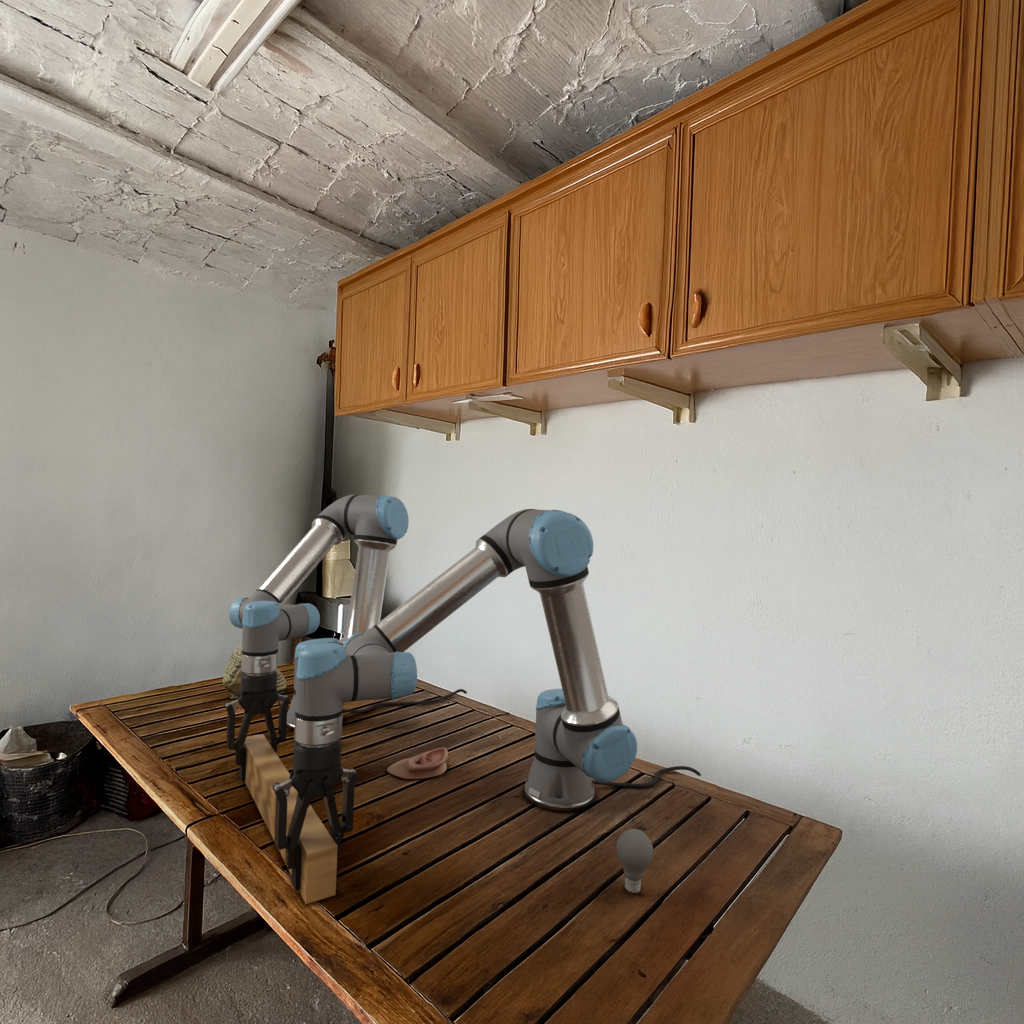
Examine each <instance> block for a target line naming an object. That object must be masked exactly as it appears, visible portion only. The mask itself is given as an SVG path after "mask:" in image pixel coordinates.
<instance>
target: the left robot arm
mask: <svg viewBox="0 0 1024 1024" xmlns="http://www.w3.org/2000/svg"><path fill="white" fill-rule="evenodd" d="M409 518H410V517H409V512H408V510H407V507H406V505H405V504H404V502H403V501H402V500H401V499H400V498H398V497H395V496H391V495H384V494H381V495H379V494H378V495H377V494H376V495H375V494H348V495H345V496H342V497H341V498H339V499H337V500H335V501H334V502H332V503H331V504H329V505H328V506H327V507H326V508H324V509H323V510H322V511H320V513H319V514H318V515H317V516H316V517H315V518H314V519H313V521H312V522H311V528H310V529H309V530H308V532H306V534H305V535H304V536H303V537H302V538H301V539H300V540H299V542H297V543H296V545H295V546H294V547H293V548H292V550H290V551H289V553H288V554H287V555H286V556H285V558H283V559H282V560H281V562H280V563H279V564H278V565H277V566H276V567H275V569H273V571H272V572H271V573H270V574H269V575H268V576H267V577H266V579H264V581H263V582H262V583H261V584H260V585H259V586H258V588H257V589H256V590H255V591H254V592H253V593H252V594H251V596H250V597H247V596H246V597H240V598H238V599H236V600H234V601H233V603H232V604H231V605H230V608H229V611H228V619H229V621H230V623H231V625H233V626H234V627H236V628H238V629H240V630H241V629H242V636H241V644H242V645H241V647H242V662H241V671H242V672H243V673H242V674H241V687H240V695H239V696H238V698H236V699H235V700H233V701H231V702H230V701H227V702H225V703H224V707H225V710H226V713H227V717H226V718H227V719H226V746H227V749H228V750H230V751H234V762H235V764H236V766H239V779H240V781H241V782H243V781H244V782H245V776H246V749H245V747H244V743H245V740H246V737H247V736H248V733H249V730H250V725H251V722H252V721H253V717H254V716H256V715H263V717H264V721H265V725H266V730H267V734H268V739H269V741H268V742H269V744H270V745H271V747H272V748H273V750H274V751H275V753H276V754H277V755H278V746H279V744H280V743H281V742H285V741H286V740H287V730H288V729H289V730H291V731H294V728H295V706H296V673H297V666H298V655H299V651H300V650H301V649H302V648H303V647H304V646H306V645H309V644H313V643H337V644H340V645H342V646H343V644H344V642H345V641H346V640H347V639H348V638H349V637H350V636H352V635H354V634H357V633H365V632H367V631H368V630H369V629H370V628H372V627H373V626H375V625H376V624H378V623H379V622H380V621H381V616H382V609H383V603H384V597H385V596H384V595H385V589H386V583H387V575H388V569H389V562H390V556H391V552H392V551H393V550H394V549H395V548H397V544H398V540H400V539H402V538H403V537H404V536H406V534H407V531H409V530H408V529H409V521H410V520H409ZM351 536H354V538H353V541H354V543H355V544H356V546H357V547H358V548H357V549H358V550H357V555H356V563H355V569H354V574H353V575H354V576H353V577H354V578H353V581H352V582H353V583H352V589H351V596H350V600H349V601H350V603H349V609H348V615H347V621H346V628H345V635H344V636H342V638H340V639H338V638H335V637H322V638H313V639H308V640H304V641H302V642H299V643H298V644H297V645H296V647H295V652H294V653H295V654H294V657H293V659H294V660H293V662H294V663H293V665H294V666H293V695H292V696H293V697H292V699H291V698H290V697H289V696H288V694H278V692H277V672H276V671H275V670H277V668H278V663H279V662H278V661H279V642H283V641H288V640H290V639H295V638H299V637H306V636H307V635H310V634H313V633H314V632H316V631H317V629H318V628H319V626H320V624H321V622H320V621H321V620H320V619H321V616H320V612H319V610H318V608H317V607H316V606H315V605H314V604H312V603H308V602H307V603H301V602H300V603H297V604H290V603H287V601H289V599H291V597H292V596H293V595H294V593H295V592H296V591H297V590H298V588H299V587H300V586H301V585H302V584H303V582H305V580H306V579H307V578H308V577H309V576H310V574H311V573H312V572H313V571H314V569H316V567H317V566H318V565H319V563H320V562H321V561H322V560H323V559H324V558H325V556H327V554H328V553H329V552H330V550H331V549H332V548H333V547H334V546H337V545H340V544H341V543H342V542H343V540H344V539H346V538H347V537H351ZM458 693H463V694H465V695H466V694H468V692H467V690H465V689H463V688H458V689H457V690H455V691H453V692H451V693H448V694H446V695H444V696H443V695H442V696H440V697H438V698H434V699H427V700H417V701H416V700H415V701H384V702H378V703H374V704H372V705H370V706H368V707H366V708H364V709H353V708H352V709H350V708H349V709H347V708H343V713H351V714H353V713H354V714H362V713H363V714H364V713H367V712H369V711H371V710H373V709H375V708H377V707H382V706H408V705H409V706H411V705H412V706H413V705H427V704H434V703H437V702H440V701H443V700H446V699H449V698H451V697H453V696H455V695H457V694H458ZM276 702H277V704H278V730H277V732H276V728H275V723H274V719H273V714H272V707H274V705H275V704H276ZM239 706H240V707H241V708H242V709H243V710H244V711H243V714H242V715H243V716H242V719H241V723H240V727H239V729H238V734H237V736H235V735H236V712H237V711H238V707H239ZM288 707H289V708H288ZM343 722H344V719H343V720H342V723H343Z"/></svg>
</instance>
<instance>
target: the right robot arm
mask: <svg viewBox="0 0 1024 1024" xmlns="http://www.w3.org/2000/svg"><path fill="white" fill-rule="evenodd" d="M593 554H594V540H593V535H592V533H591V530H590V529H589V526H588V525H587V524H586V522H585V521H583V520H582V519H581V518H580V517H578V516H577V515H575V514H573V513H571V512H566V511H563V510H559V509H536V508H524V509H521V510H518V511H516V512H514V513H512V514H510V515H508V516H507V517H506V518H504V519H503V520H501V521H500V522H499V523H497V524H496V525H495V526H494V527H492V528H491V529H489V530H488V531H487V532H486V533H484V534H483V535H481V536H480V537H479V538H478V539H477V540H476V541H475V547H474V548H473V549H472V550H470V551H469V552H468V553H466V554H465V555H464V556H462V557H461V558H460V559H458V561H456V562H455V563H454V564H452V565H451V566H450V567H448V568H447V569H446V570H445V571H444V572H442V573H441V574H440V575H438V576H437V577H436V578H434V579H433V580H432V581H430V582H428V584H427V585H425V586H424V587H423V588H421V589H420V590H418V591H417V592H416V593H415V594H413V595H412V596H411V597H410V598H408V599H407V600H406V601H405V602H403V603H402V604H401V605H399V606H398V607H397V608H395V609H394V610H393V611H391V612H390V613H389V614H388V615H386V616H385V617H384V618H383V619H380V622H379V623H378V624H376V625H375V626H373V627H372V628H370V629H369V630H368V631H367V632H365V633H357V634H354V635H352V636H350V637H349V638H348V639H347V640H346V641H345V642H344V644H343V646H342V645H340V644H337V643H313V644H309V645H306V646H304V647H303V648H302V649H301V650H300V651H299V655H298V666H297V673H296V706H295V728H294V730H293V739H294V741H295V742H294V744H293V753H292V754H293V756H292V757H293V759H292V770H291V773H290V777H289V779H288V780H286V781H284V782H283V783H281V784H280V783H275V784H274V785H273V790H274V793H275V796H276V811H275V835H274V839H273V841H274V844H275V845H276V847H277V849H278V850H279V849H280V850H282V849H286V864H287V866H286V868H287V867H288V868H287V870H288V869H289V870H290V869H292V870H291V874H290V883H291V885H292V887H293V889H294V891H295V892H297V891H299V890H300V881H301V855H302V849H301V847H300V845H299V844H298V842H299V838H300V834H301V831H302V827H303V823H304V820H305V816H306V813H307V809H308V807H309V806H310V805H311V802H312V801H313V800H315V799H317V798H323V802H324V806H325V810H326V816H327V820H328V825H329V829H330V832H329V834H330V835H331V837H332V838H333V840H334V841H335V843H336V844H337V846H338V847H337V857H340V855H341V850H342V841H343V839H344V834H347V833H350V832H352V831H353V829H354V812H355V811H354V810H355V807H354V806H355V787H356V785H357V781H358V779H359V774H358V773H357V771H356V770H355V769H354V768H353V767H348V768H343V766H342V748H343V745H342V744H343V742H342V739H341V738H342V736H343V722H342V720H343V721H344V712H343V709H344V703H352V702H364V701H375V700H376V701H377V700H388V699H391V700H394V699H398V698H403V697H404V698H405V697H408V696H411V695H412V694H414V692H415V691H416V687H417V684H418V667H417V662H416V658H415V657H414V655H413V654H412V653H411V652H408V651H407V650H408V649H409V648H411V647H412V646H413V645H415V643H417V642H418V641H420V640H421V639H422V638H423V637H424V636H426V635H427V634H428V633H430V632H431V631H432V630H434V629H435V628H437V626H438V625H440V624H441V623H442V622H443V621H444V620H446V619H447V618H449V617H450V616H451V615H452V614H453V613H455V612H456V611H457V610H459V609H460V608H461V607H462V606H463V605H465V604H466V603H467V602H469V601H470V600H471V599H472V598H474V597H475V596H476V595H478V594H479V593H480V592H481V591H483V590H484V589H485V588H486V587H487V586H489V585H490V584H491V583H492V582H494V581H495V580H496V579H498V578H506V577H508V576H509V575H510V574H512V573H513V572H515V571H517V570H518V569H522V568H525V571H526V575H527V579H528V584H529V587H530V588H531V589H533V590H534V591H535V592H538V593H539V596H540V600H541V605H542V610H543V613H544V617H545V618H544V619H545V621H546V626H547V631H548V635H549V638H550V643H551V648H552V651H553V655H554V659H555V664H556V668H557V673H558V677H559V682H560V685H561V688H552V689H546V690H543V691H541V692H540V693H539V694H538V696H537V700H536V704H535V705H536V706H535V712H536V713H535V731H534V733H535V735H534V757H533V761H532V764H531V766H530V769H529V773H528V776H527V777H526V779H525V783H524V796H525V798H526V799H527V800H528V802H530V803H531V804H533V805H534V806H537V807H538V808H542V809H545V810H549V811H555V812H577V811H580V810H583V809H586V808H588V807H589V806H591V805H592V804H593V803H594V800H595V786H594V785H599V786H608V787H609V786H610V787H620V788H621V787H622V788H649V787H651V786H654V785H655V784H656V783H657V782H658V780H659V776H660V775H661V774H663V773H667V772H668V773H669V772H672V771H689V772H691V773H694V774H695V775H696V776H699V777H701V776H702V774H701V773H700V771H698V770H697V769H695V768H693V767H692V766H691V767H690V766H687V765H676V766H669V767H665V768H661V769H658V770H657V771H656V772H655V774H654V778H653V779H652V780H651V781H648V782H643V783H642V782H641V783H629V782H615V781H618V780H619V779H620V778H622V777H623V776H625V775H626V773H627V772H628V771H629V770H630V768H631V767H632V764H633V763H634V762H635V760H636V756H637V752H638V740H637V737H636V735H635V733H634V732H633V731H632V730H631V728H630V727H629V726H627V725H625V724H624V723H623V721H622V716H621V712H620V711H621V710H620V707H619V703H618V701H617V700H616V699H615V698H614V697H612V696H610V695H609V693H608V688H607V684H606V680H605V676H604V670H603V666H602V661H601V657H600V653H599V649H598V648H599V647H598V644H597V639H596V635H595V631H594V630H595V629H594V626H593V621H592V617H591V613H590V608H589V604H588V600H587V594H586V590H585V586H584V583H585V581H586V579H588V577H589V575H590V571H589V567H588V565H589V564H590V562H591V557H592V556H593ZM406 651H407V652H406ZM340 779H341V782H342V792H341V817H339V813H338V808H337V803H336V796H335V790H334V789H335V787H336V785H338V782H339V781H340ZM292 786H293V787H294V788H295V789H296V791H297V792H298V794H297V798H296V805H295V809H294V812H293V816H292V819H291V823H290V827H289V830H288V834H287V837H286V828H287V798H286V797H288V796H289V794H290V788H291V787H292ZM340 818H341V820H340ZM286 864H285V865H286ZM289 870H288V871H289Z"/></svg>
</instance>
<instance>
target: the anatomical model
mask: <svg viewBox="0 0 1024 1024" xmlns="http://www.w3.org/2000/svg"><path fill="white" fill-rule="evenodd" d="M448 752H449V751H448V749H447V748H446V747H438V748H434V749H430V750H428V751H424V752H422V753H420V754H417V755H414V756H411V757H408V758H402V759H400V760H398V761H396V762H394V763H392V764H391V765H390V766H388V767H387V769H386V771H387V772H388V773H389V774H391V775H392V776H396V777H397V778H401V779H405V780H417V779H428V778H433V777H436V776H440V775H442V774H444V773H446V771H447V769H448V766H447V763H446V761H447V760H448V757H449V756H448V755H449V753H448Z"/></svg>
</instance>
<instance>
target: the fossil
mask: <svg viewBox="0 0 1024 1024" xmlns="http://www.w3.org/2000/svg"><path fill="white" fill-rule="evenodd" d="M241 662H242V646H238V647H237V648H236V649H235V650H233V651H232V653H231V656H230V657H229V659H228V660H227V663H226V666H225V668H224V671H223V675H222V676H223V677H222V685H223V687H224V688H225V690H226V691H228V693H229V698H230V699H238V696H239V695H240V687H241V674H242V673H243V672H242V671H241ZM275 671H276V672H277V692H278V694H279V695H281V694H284V693H285V691H286V689H287V687H288V686H287V680H286V678H285V676H284V674H283V673H282V672H281V669H279V668H278V667H277V670H275Z"/></svg>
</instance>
